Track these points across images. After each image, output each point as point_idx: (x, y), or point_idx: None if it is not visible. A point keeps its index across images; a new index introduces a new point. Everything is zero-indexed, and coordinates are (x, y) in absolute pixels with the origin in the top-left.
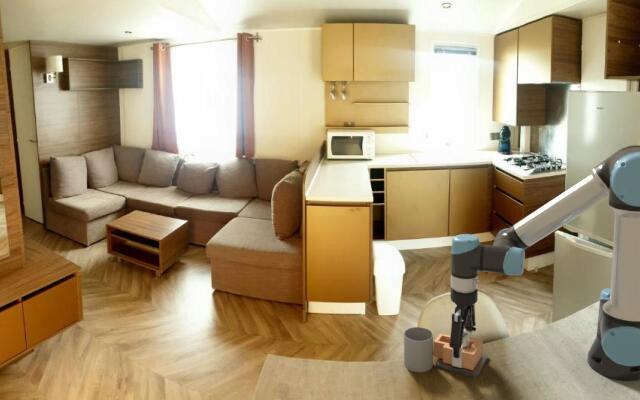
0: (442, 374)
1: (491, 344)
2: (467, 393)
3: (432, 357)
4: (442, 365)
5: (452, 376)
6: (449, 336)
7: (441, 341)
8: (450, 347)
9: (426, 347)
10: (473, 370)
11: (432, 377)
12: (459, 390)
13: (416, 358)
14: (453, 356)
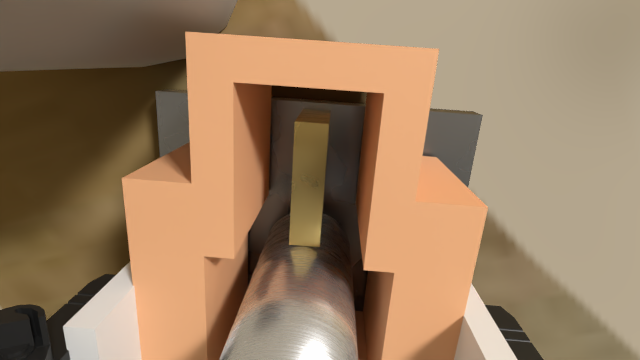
0: (109, 159)
1: (604, 351)
2: None
3: (132, 61)
4: (163, 145)
5: (124, 220)
6: (393, 185)
7: (231, 128)
8: (159, 251)
9: None
10: None
11: (37, 107)
12: (19, 285)
13: None
14: (95, 280)
